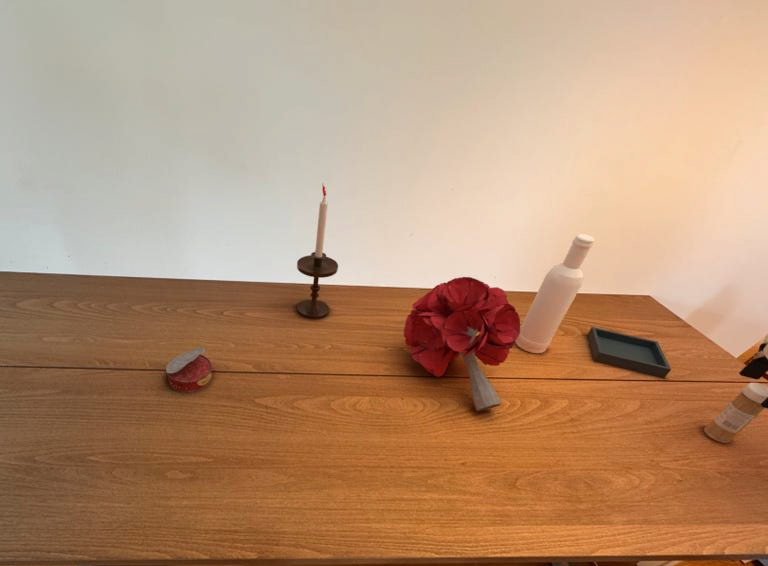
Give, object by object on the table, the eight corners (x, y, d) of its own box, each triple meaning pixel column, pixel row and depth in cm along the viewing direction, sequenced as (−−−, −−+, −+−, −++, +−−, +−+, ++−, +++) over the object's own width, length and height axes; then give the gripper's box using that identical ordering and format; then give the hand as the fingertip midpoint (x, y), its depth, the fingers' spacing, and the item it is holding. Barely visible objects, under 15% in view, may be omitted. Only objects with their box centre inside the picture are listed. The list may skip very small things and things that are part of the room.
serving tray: (651, 349, 113) (657, 341, 111) (664, 378, 104) (671, 369, 102) (586, 334, 117) (591, 326, 115) (593, 360, 108) (599, 352, 106)
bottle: (551, 346, 112) (611, 238, 93) (538, 357, 108) (598, 247, 89) (522, 332, 116) (574, 227, 97) (508, 342, 112) (559, 234, 93)
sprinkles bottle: (733, 439, 89) (784, 393, 80) (722, 446, 87) (773, 400, 78) (709, 424, 92) (755, 379, 83) (698, 431, 90) (744, 385, 82)
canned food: (184, 407, 95) (157, 385, 87) (175, 375, 101) (150, 352, 93) (227, 382, 94) (204, 358, 86) (215, 351, 100) (193, 327, 93)
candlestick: (298, 322, 115) (308, 191, 93) (290, 301, 123) (298, 176, 101) (336, 319, 117) (355, 190, 95) (326, 299, 125) (341, 175, 103)
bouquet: (504, 410, 102) (461, 301, 112) (576, 380, 80) (515, 248, 90) (422, 427, 98) (385, 313, 108) (474, 401, 76) (422, 261, 86)
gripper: (902, 353, 63) (806, 429, 74) (836, 300, 76) (762, 371, 87) (840, 339, 65) (755, 415, 76) (785, 289, 78) (719, 360, 89)
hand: (758, 391), depth 81 cm, fingers open, 9 cm apart
